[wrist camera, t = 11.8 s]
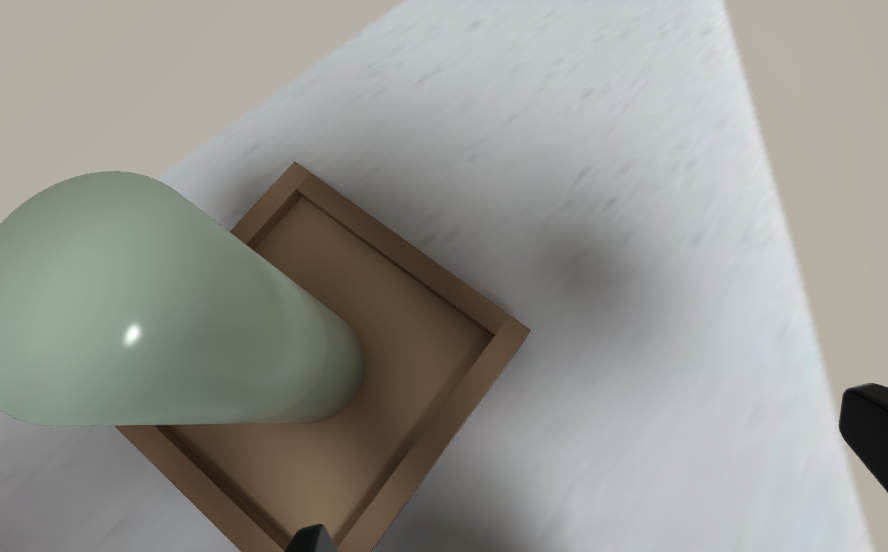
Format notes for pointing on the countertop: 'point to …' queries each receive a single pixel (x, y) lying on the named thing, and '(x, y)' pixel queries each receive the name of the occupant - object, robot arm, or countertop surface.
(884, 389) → the robot arm
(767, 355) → the countertop surface
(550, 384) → the countertop surface
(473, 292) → the walnut tray
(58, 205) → the sage cylinder
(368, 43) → the countertop surface
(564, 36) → the countertop surface
